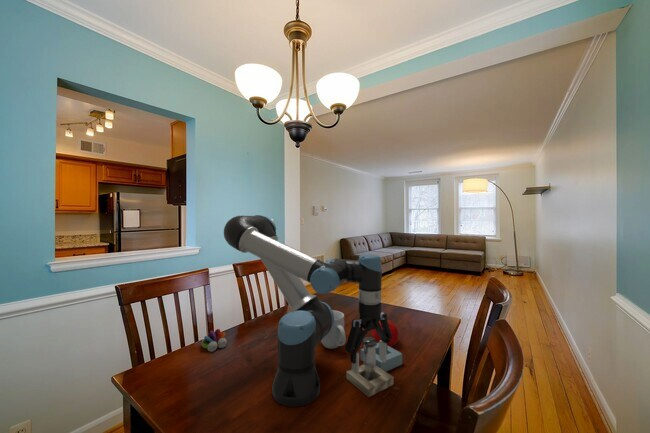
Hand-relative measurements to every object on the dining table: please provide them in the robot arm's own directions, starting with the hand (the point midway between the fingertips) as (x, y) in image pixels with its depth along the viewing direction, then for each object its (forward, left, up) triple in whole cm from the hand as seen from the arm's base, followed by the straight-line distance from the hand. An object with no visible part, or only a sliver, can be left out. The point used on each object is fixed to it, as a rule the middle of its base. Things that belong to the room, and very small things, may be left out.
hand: (369, 366), depth 89 cm
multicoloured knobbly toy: (-39, +53, -6) cm, 66 cm away
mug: (+3, +27, -5) cm, 27 cm away
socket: (+12, +7, -5) cm, 15 cm away
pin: (0, 0, -5) cm, 5 cm away
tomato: (+23, +16, -6) cm, 29 cm away
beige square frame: (0, 0, -5) cm, 5 cm away
